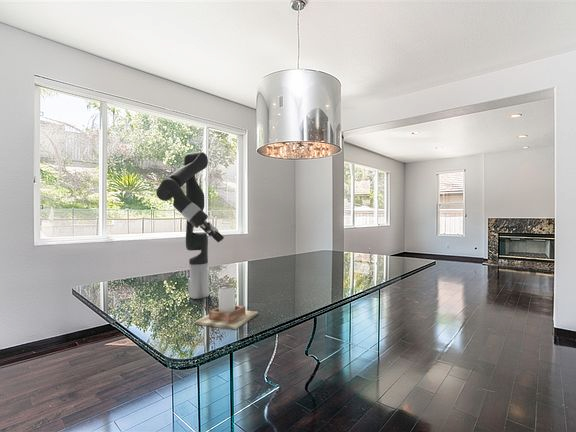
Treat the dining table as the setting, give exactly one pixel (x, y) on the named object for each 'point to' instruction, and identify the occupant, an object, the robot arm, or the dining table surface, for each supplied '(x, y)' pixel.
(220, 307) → the can
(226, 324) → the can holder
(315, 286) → the dining table surface
